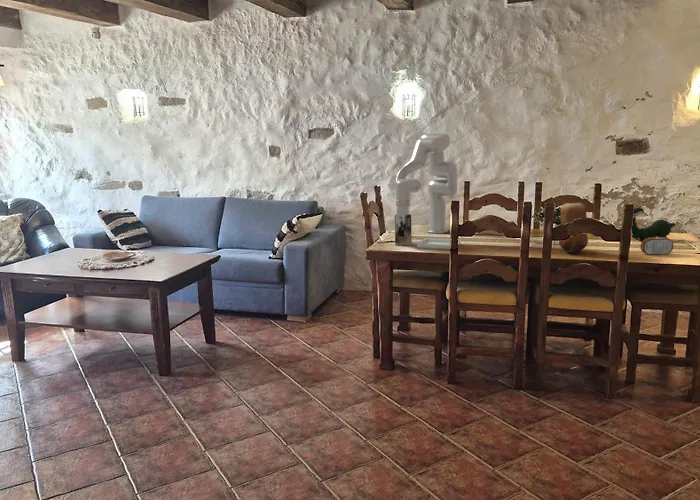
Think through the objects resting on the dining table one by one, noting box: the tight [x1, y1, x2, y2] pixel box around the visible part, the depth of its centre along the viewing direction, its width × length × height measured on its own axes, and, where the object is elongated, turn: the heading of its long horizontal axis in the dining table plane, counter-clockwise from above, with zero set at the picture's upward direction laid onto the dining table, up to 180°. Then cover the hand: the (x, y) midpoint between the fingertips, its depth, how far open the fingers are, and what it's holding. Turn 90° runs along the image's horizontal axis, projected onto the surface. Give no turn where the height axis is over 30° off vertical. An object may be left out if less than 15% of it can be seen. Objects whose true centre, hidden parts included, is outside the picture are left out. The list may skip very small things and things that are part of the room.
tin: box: [640, 237, 674, 256], centre depth 275 cm, size 15×3×8 cm, turn 92°
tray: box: [416, 237, 461, 251], centre depth 307 cm, size 16×20×2 cm
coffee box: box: [394, 213, 413, 246], centre depth 313 cm, size 9×6×16 cm
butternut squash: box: [558, 202, 589, 254], centre depth 281 cm, size 14×13×25 cm
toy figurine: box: [631, 207, 677, 241], centre depth 306 cm, size 9×19×25 cm
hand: (403, 235), depth 313 cm, fingers closed on coffee box, 7 cm apart
